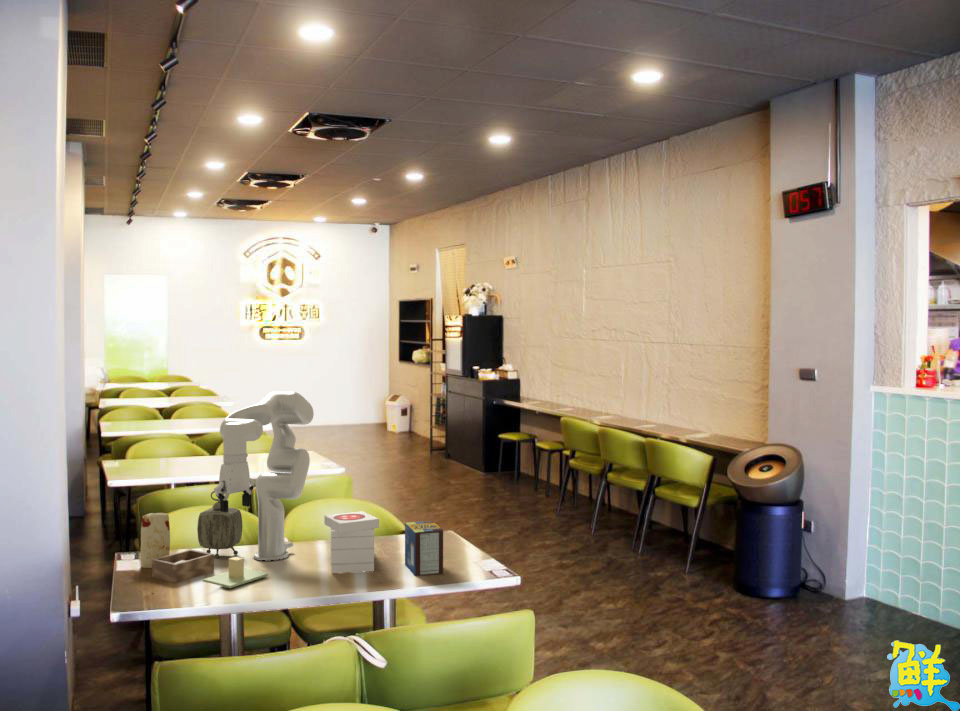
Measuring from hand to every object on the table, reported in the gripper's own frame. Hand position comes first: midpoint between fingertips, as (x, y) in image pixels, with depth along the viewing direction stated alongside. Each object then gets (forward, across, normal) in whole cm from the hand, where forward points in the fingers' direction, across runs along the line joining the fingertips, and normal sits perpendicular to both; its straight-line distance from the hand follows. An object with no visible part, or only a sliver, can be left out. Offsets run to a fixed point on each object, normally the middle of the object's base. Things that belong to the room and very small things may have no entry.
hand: (235, 508), depth 280 cm
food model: (+24, +6, -33) cm, 42 cm away
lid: (+24, +1, +2) cm, 24 cm away
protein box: (+25, -44, +47) cm, 69 cm away
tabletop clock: (+25, -17, -27) cm, 40 cm away
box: (+24, +8, -16) cm, 30 cm away
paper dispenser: (+25, -36, +20) cm, 48 cm away
